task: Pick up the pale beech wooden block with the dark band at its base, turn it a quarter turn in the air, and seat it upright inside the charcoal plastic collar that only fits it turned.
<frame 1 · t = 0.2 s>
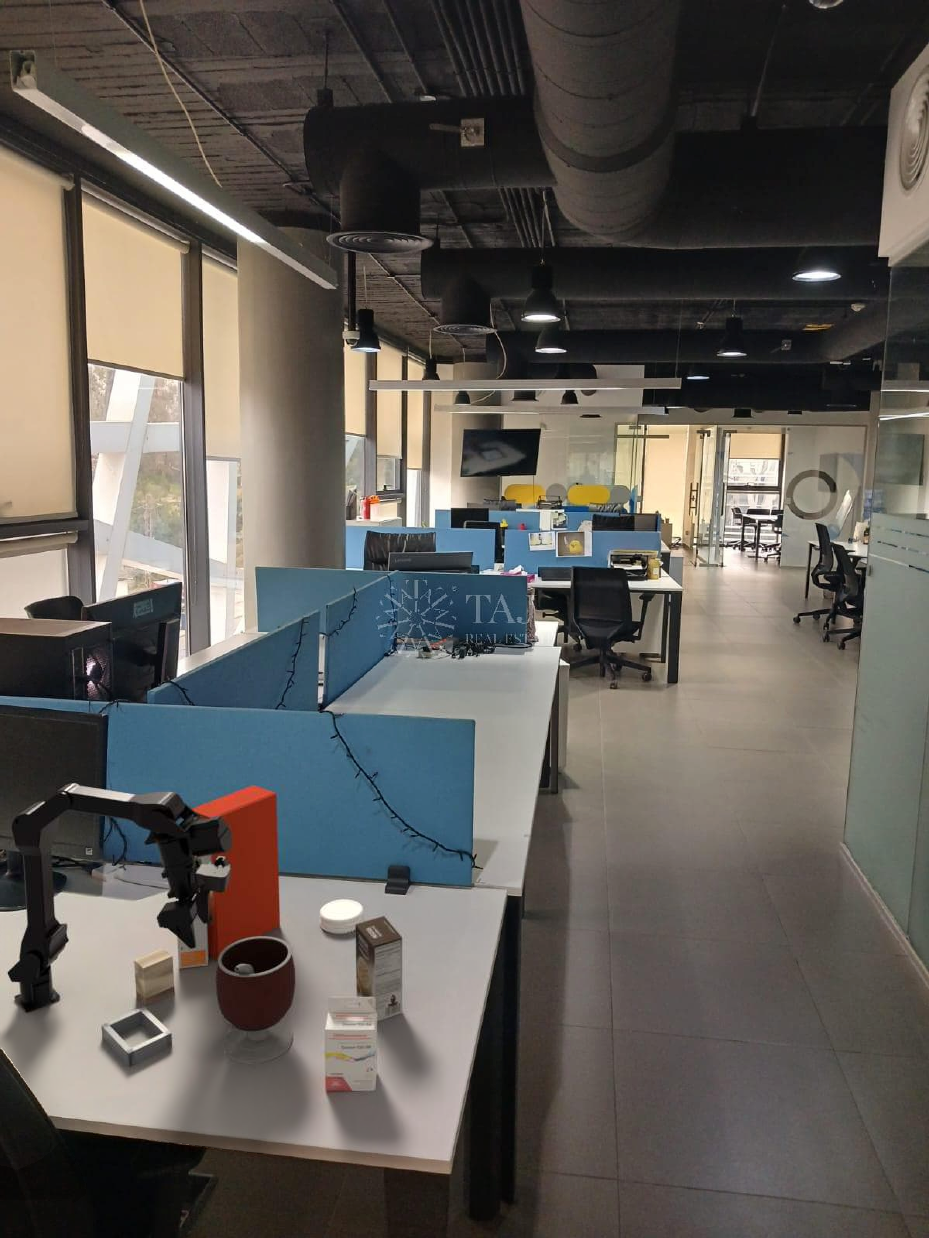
hand: (200, 935, 166), 15 cm above the table, tool pointing down, fingers open, 9 cm apart
mate gourd: (256, 1044, 158), on the table
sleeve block: (155, 994, 173), on the table
ink cartridge box: (351, 1083, 149), on the table
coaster: (341, 924, 200), on the table
collar: (137, 1041, 159), on the table
skincare box: (194, 963, 184), on the table
file binder: (239, 938, 194), on the table
coffee box: (379, 1006, 170), on the table
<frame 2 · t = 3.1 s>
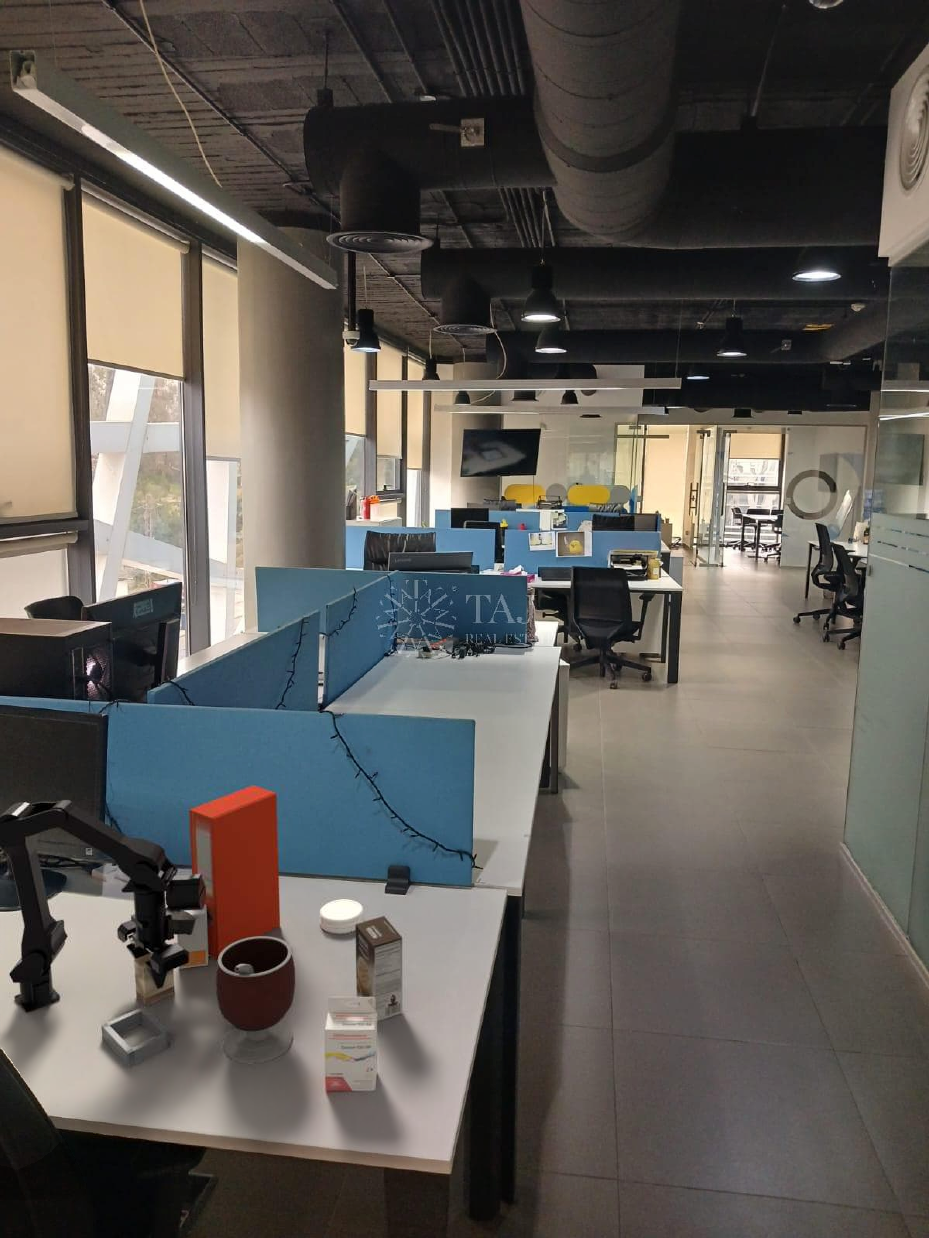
hand: (154, 982, 172), 3 cm above the table, tool pointing down, fingers closed on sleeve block, 4 cm apart
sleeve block: (155, 994, 173), on the table, touching gripper
everything else where it was.
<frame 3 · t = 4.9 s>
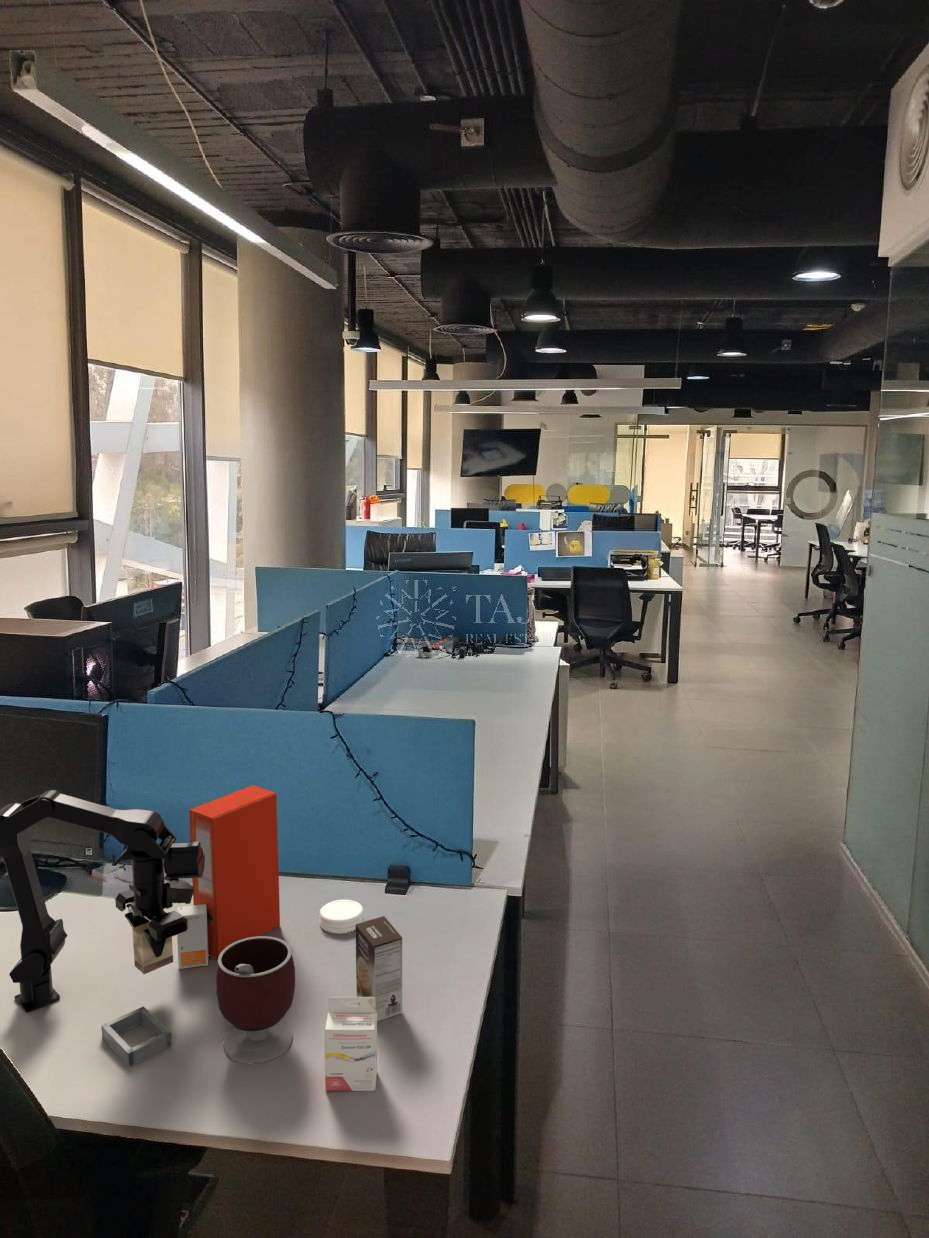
hand: (153, 951, 171), 9 cm above the table, tool pointing down, fingers closed on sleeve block, 4 cm apart
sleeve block: (154, 963, 172), point 7 cm above the table, touching gripper
everything else where it was.
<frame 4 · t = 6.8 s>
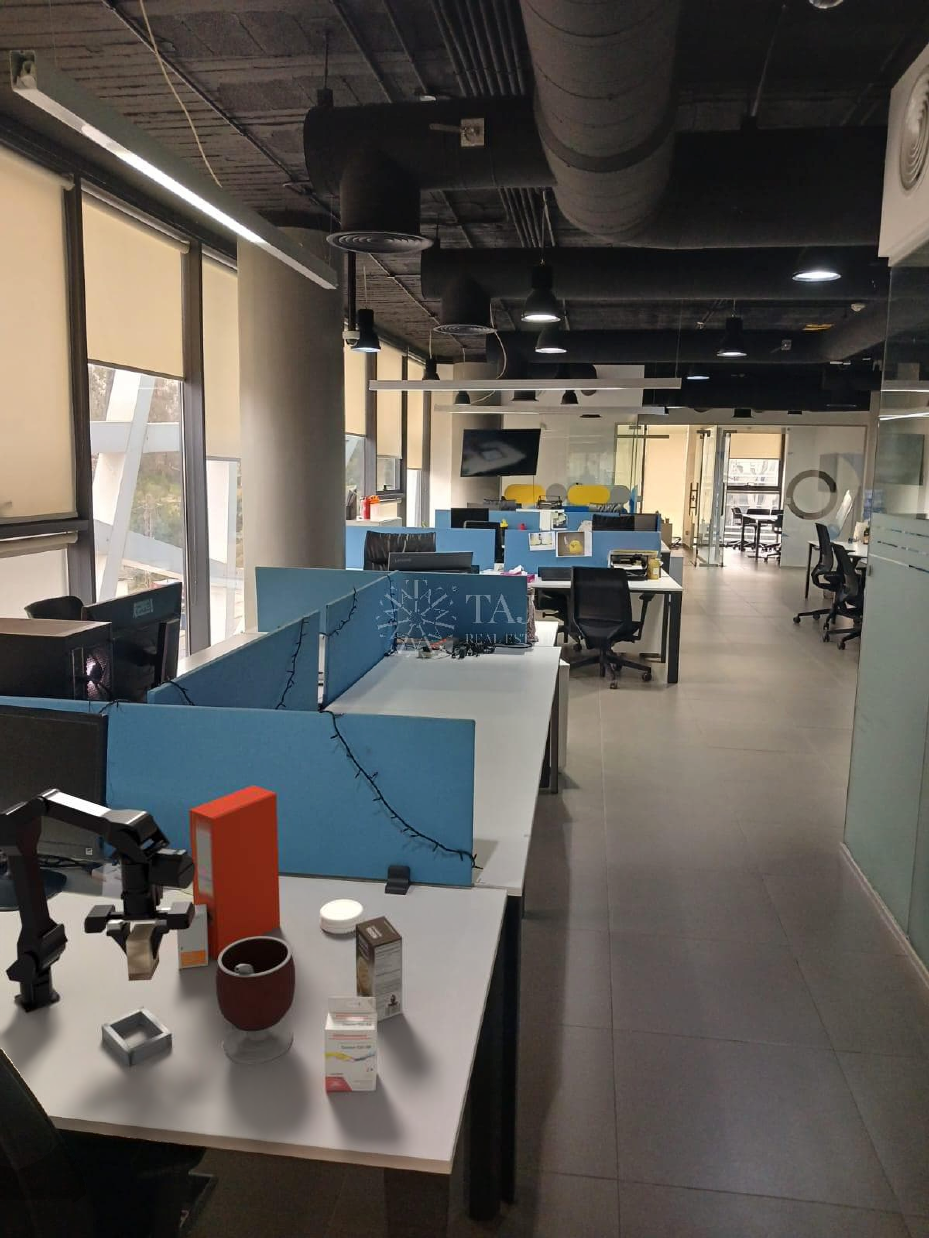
hand: (143, 958, 164), 12 cm above the table, tool pointing down, fingers closed on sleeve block, 4 cm apart
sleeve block: (144, 970, 164), point 10 cm above the table, touching gripper
everything else where it was.
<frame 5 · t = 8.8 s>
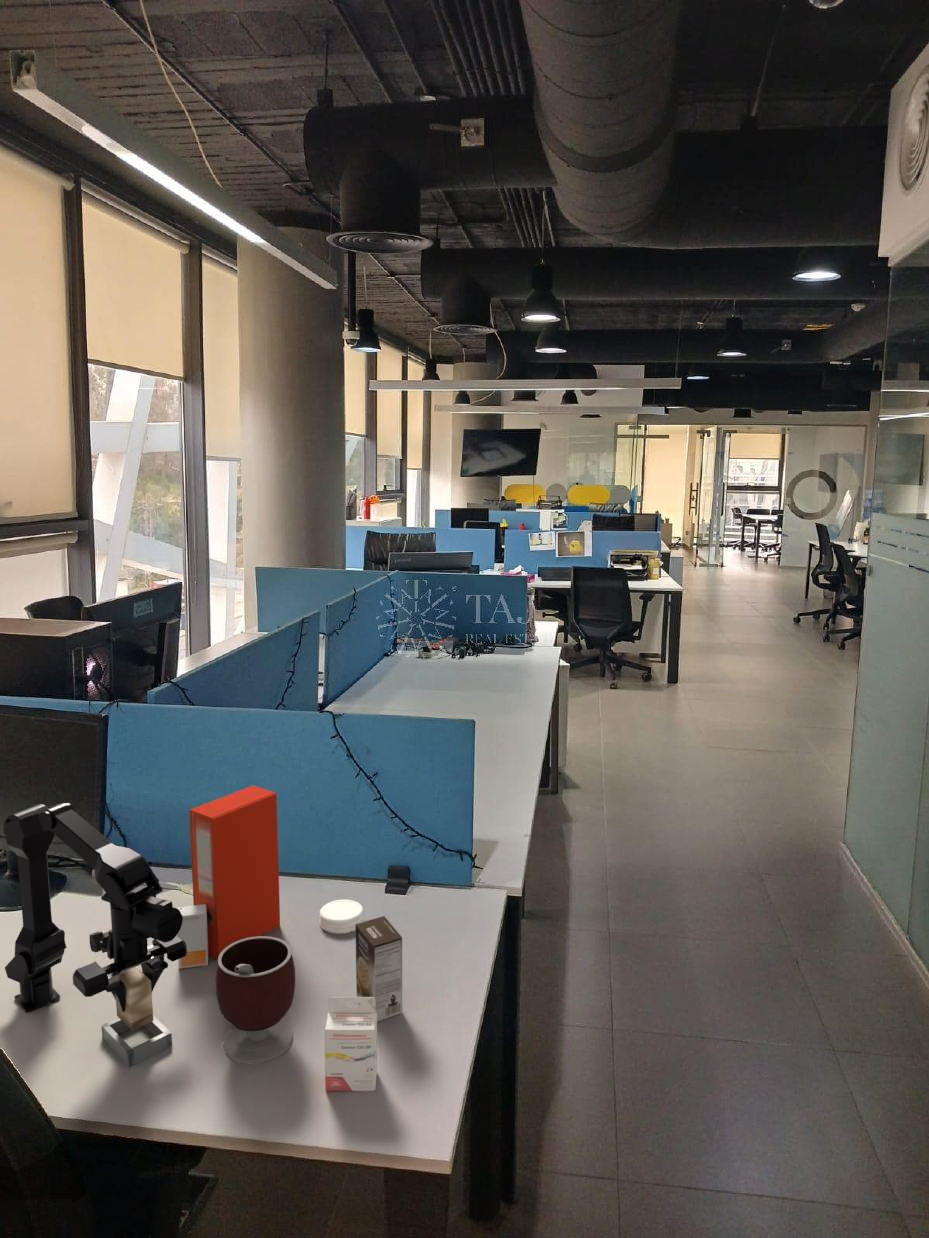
hand: (134, 1005, 158), 7 cm above the table, tool pointing down, fingers closed on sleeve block, 4 cm apart
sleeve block: (135, 1018, 158), point 5 cm above the table, touching gripper
everything else where it was.
when the fingers open (4 cm above the table, at t = 10.3 s): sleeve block drops 1 cm, resting in collar.
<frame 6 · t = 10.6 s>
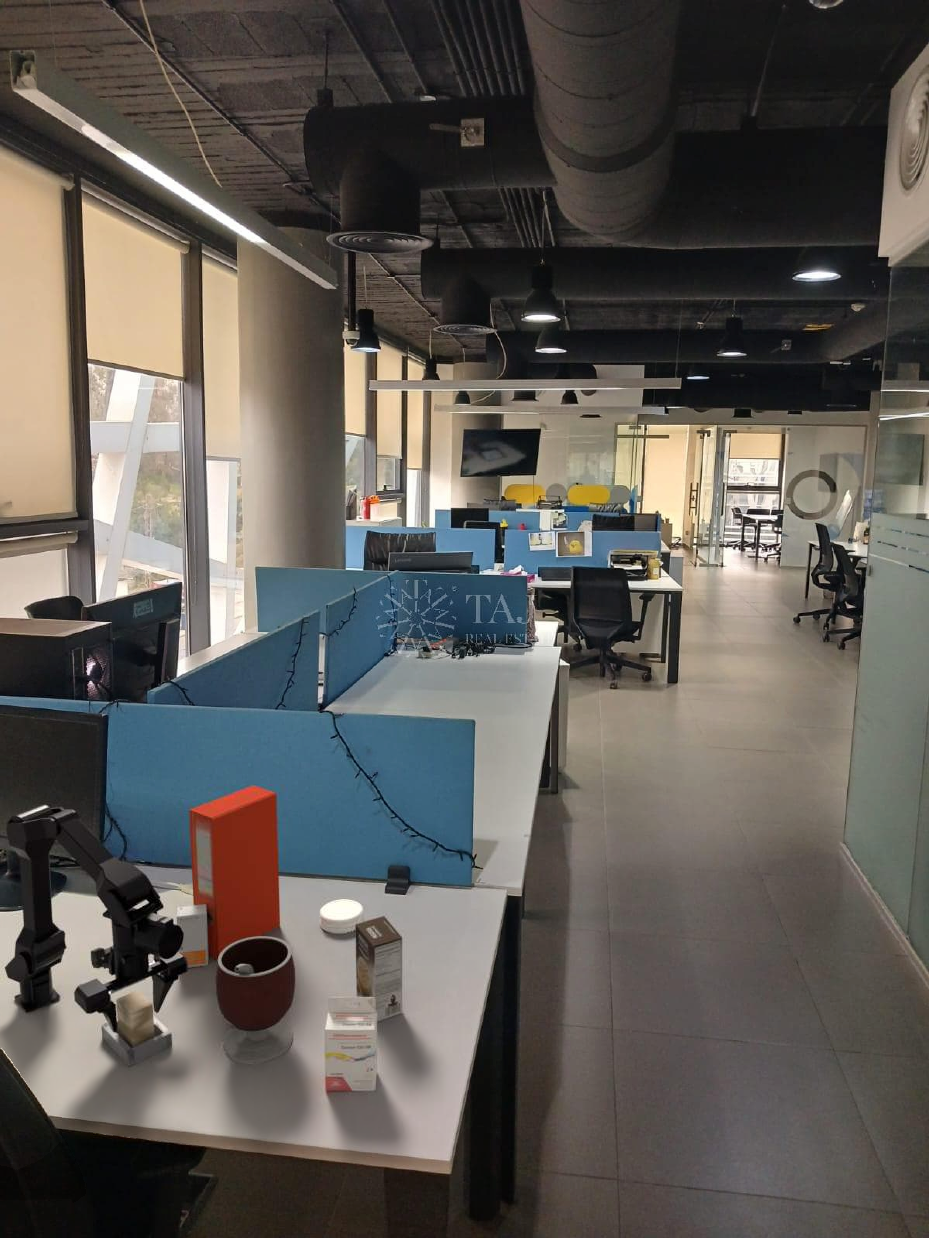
hand: (135, 1021, 158), 4 cm above the table, tool pointing down, fingers open, 8 cm apart
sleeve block: (137, 1041, 159), resting in collar
everything else where it was.
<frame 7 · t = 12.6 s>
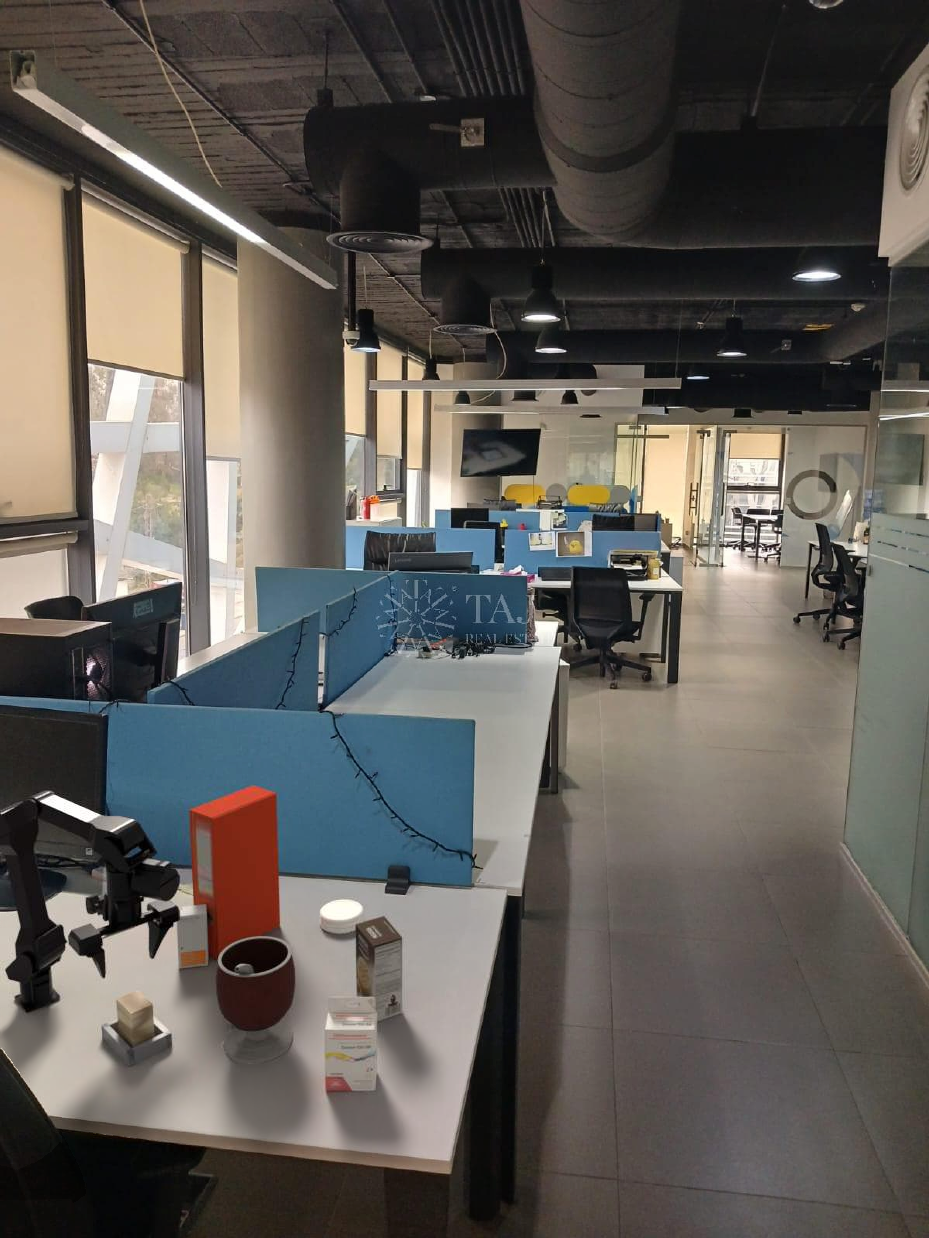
hand: (127, 967, 162), 12 cm above the table, tool pointing down, fingers open, 9 cm apart
nothing on the table moved.
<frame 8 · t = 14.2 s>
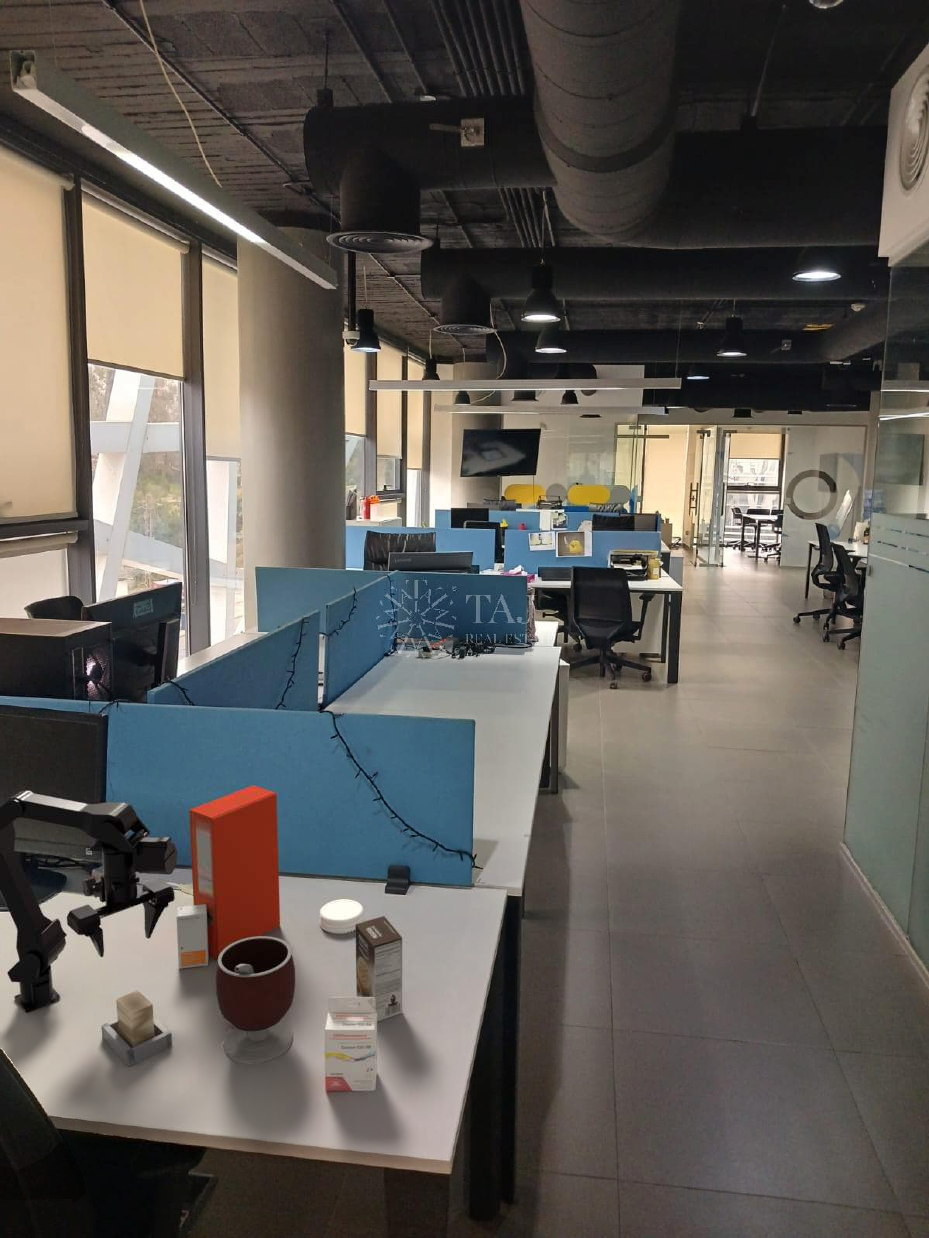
hand: (125, 946, 168), 12 cm above the table, tool pointing down, fingers open, 9 cm apart
nothing on the table moved.
at the end: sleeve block 0.1 cm off-centre on the collar, point 0.0 cm above the collar's base; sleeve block tilted 0°; the gripper is holding nothing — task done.
